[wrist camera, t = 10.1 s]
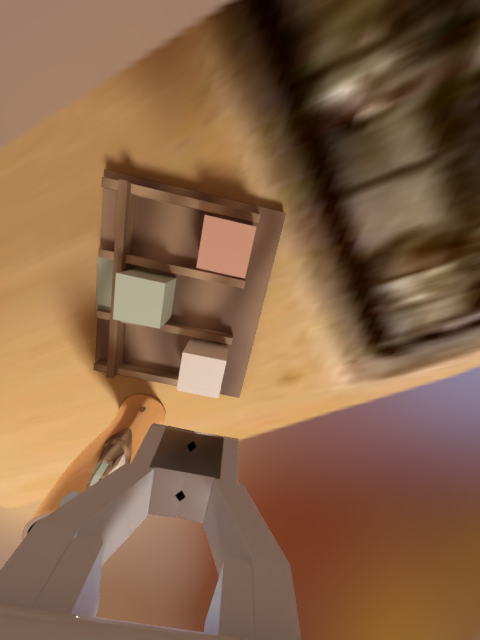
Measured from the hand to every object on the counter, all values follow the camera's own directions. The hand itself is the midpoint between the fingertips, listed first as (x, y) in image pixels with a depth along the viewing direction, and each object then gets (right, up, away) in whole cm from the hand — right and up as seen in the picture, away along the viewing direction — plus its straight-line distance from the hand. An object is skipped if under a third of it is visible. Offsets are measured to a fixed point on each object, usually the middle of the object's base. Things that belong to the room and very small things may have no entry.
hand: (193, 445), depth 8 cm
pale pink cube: (-2, 0, +20) cm, 20 cm away
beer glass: (-11, -8, +24) cm, 28 cm away
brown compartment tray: (-5, +7, +19) cm, 21 cm away
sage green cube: (-8, +7, +18) cm, 21 cm away
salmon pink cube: (0, +12, +16) cm, 20 cm away
